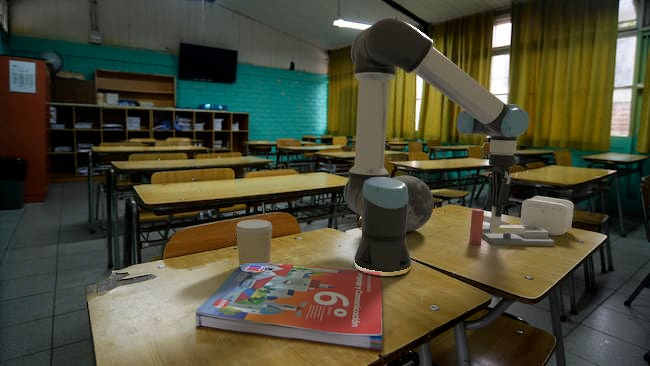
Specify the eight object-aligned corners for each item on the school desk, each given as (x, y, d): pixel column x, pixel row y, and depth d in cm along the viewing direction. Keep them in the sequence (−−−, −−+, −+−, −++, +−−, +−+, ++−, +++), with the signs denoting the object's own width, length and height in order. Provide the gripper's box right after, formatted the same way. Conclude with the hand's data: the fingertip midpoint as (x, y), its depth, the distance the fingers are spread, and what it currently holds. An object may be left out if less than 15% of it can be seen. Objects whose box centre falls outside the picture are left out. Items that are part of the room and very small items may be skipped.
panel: (491, 244, 123) (492, 234, 122) (471, 228, 141) (472, 219, 140) (554, 245, 123) (555, 235, 122) (526, 230, 140) (527, 220, 140)
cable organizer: (573, 232, 138) (577, 201, 136) (563, 238, 131) (567, 205, 129) (529, 224, 149) (533, 195, 147) (518, 228, 142) (521, 198, 141)
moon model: (368, 234, 132) (370, 177, 129) (382, 220, 150) (385, 170, 147) (427, 242, 124) (431, 181, 121) (435, 227, 143) (438, 174, 139)
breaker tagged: (494, 233, 124) (494, 227, 123) (490, 230, 127) (490, 225, 126) (525, 234, 123) (526, 228, 123) (520, 231, 127) (521, 225, 126)
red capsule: (471, 244, 122) (474, 211, 120) (467, 241, 126) (470, 208, 124) (482, 245, 122) (485, 211, 120) (478, 241, 126) (481, 209, 124)
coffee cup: (259, 258, 107) (258, 217, 105) (279, 268, 100) (279, 224, 99) (229, 267, 101) (228, 223, 99) (249, 277, 94) (248, 230, 92)
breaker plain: (481, 220, 134) (482, 215, 134) (477, 218, 137) (479, 213, 137) (507, 228, 135) (509, 223, 134) (504, 226, 138) (506, 220, 137)
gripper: (524, 155, 115) (516, 231, 119) (505, 152, 128) (498, 220, 131) (499, 155, 115) (492, 230, 119) (482, 151, 128) (476, 220, 132)
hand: (495, 225), depth 125 cm, fingers closed
